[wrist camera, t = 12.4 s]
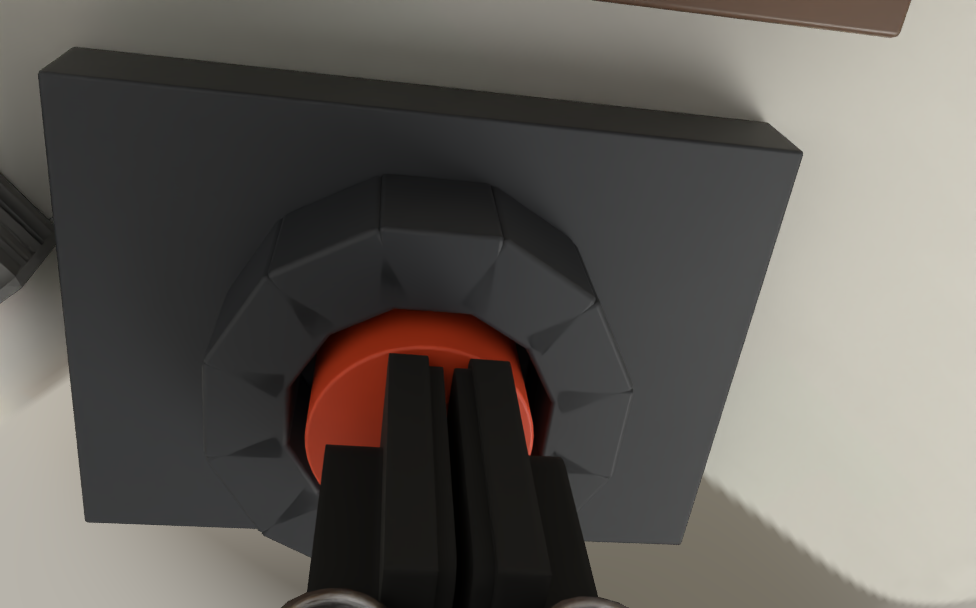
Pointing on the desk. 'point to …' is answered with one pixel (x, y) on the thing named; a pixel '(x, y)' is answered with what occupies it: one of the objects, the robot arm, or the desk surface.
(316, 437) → the power button
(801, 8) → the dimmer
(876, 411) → the desk surface
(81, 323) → the switch box
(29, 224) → the dark grey long bar
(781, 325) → the desk surface
